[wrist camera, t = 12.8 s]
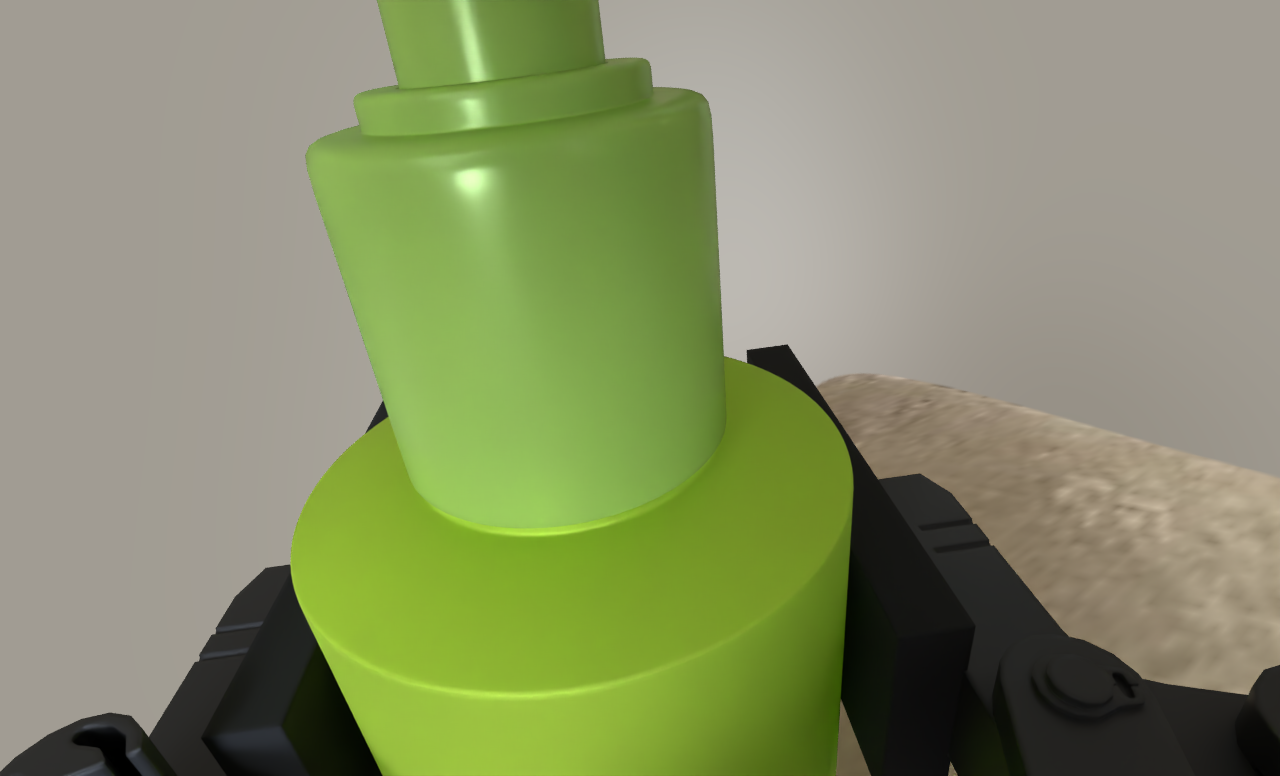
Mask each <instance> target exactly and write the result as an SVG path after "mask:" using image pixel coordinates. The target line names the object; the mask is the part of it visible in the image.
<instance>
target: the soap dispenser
mask: <svg viewBox="0 0 1280 776" xmlns="http://www.w3.org/2000/svg"><path fill="white" fill-rule="evenodd" d="M377 3H378V6H379V10H380V14H381V18H382V22H383V26H384V30H385V34H386V38H387V42H388V46H389V49H390V54H391V58H392V61H393V65H394V69H395V73H396V77H397V81H398V85H394V86H388V87H383V88H377V89H373V90H368V91H365V92H362V93H359V94H357V95H356V96H355V97H354V107H355V111H356V115H357V118H358V121H359V125H358V126H354V127H351V128H347V129H344V130H341V131H338V132H335V133H332V134H329V135H327V136H324V137H322V138H320V139H318V140H317V141H316V142H314V143H313V144H311V145H310V146H309V148H308V150H307V153H306V164H307V171H308V174H309V177H310V180H311V184H312V187H313V191H314V194H315V197H316V200H317V203H318V206H319V209H320V212H321V215H322V218H323V221H324V224H325V227H326V230H327V233H328V236H329V239H330V242H331V245H332V248H333V251H334V254H335V257H336V260H337V263H338V266H339V269H340V272H341V275H342V278H343V281H344V284H345V287H346V290H347V293H348V296H349V299H350V302H351V305H352V308H353V311H354V314H355V317H356V320H357V323H358V326H359V329H360V332H361V335H362V338H363V341H364V344H365V347H366V350H367V353H368V356H369V359H370V362H371V365H372V368H373V371H374V374H375V377H376V380H377V383H378V386H379V389H380V391H381V394H382V398H383V401H384V404H385V407H386V410H387V413H388V416H389V417H387V418H386V419H385V420H383V421H382V422H380V423H379V424H377V425H376V426H375V427H373V428H372V429H371V430H369V431H368V432H367V433H366V434H364V435H363V436H362V437H361V438H359V439H358V440H357V441H356V442H355V443H354V444H353V445H351V446H350V447H349V448H348V449H347V450H346V451H345V452H344V453H343V454H342V455H341V456H340V457H339V458H338V459H337V460H336V461H335V462H334V463H333V465H332V466H331V467H330V468H329V469H328V471H327V472H326V473H325V474H324V475H323V477H322V478H321V479H320V481H319V482H318V483H317V485H316V486H315V488H314V490H313V491H312V493H311V494H310V496H309V498H308V500H307V502H306V504H305V505H304V507H303V510H302V512H301V515H300V517H299V519H298V522H297V525H296V529H295V532H294V536H293V541H292V547H291V575H292V582H293V586H294V590H295V593H296V596H297V599H298V602H299V604H300V606H301V609H302V611H303V613H304V615H305V617H306V619H307V621H308V623H309V625H310V627H311V630H312V632H313V634H314V636H315V638H316V640H317V642H318V644H319V646H320V648H321V650H322V652H323V654H324V656H325V658H326V660H327V662H328V664H329V667H330V669H331V671H332V673H333V675H334V677H335V679H336V681H337V683H338V685H339V687H340V689H341V691H342V693H343V695H344V697H345V699H346V701H347V704H348V706H349V708H350V710H351V712H352V714H353V716H354V718H355V720H356V722H357V724H358V726H359V728H360V730H361V732H362V734H363V736H364V738H365V741H366V743H367V745H368V747H369V749H370V751H371V753H372V755H373V757H374V759H375V761H376V763H377V765H378V767H379V769H380V771H381V773H382V775H383V776H836V765H837V749H838V732H839V716H840V700H841V684H842V668H843V652H844V636H845V620H846V604H847V588H848V572H849V556H850V540H851V524H852V508H853V488H854V486H853V471H852V465H851V460H850V456H849V453H848V450H847V447H846V445H845V442H844V440H843V438H842V436H841V434H840V432H839V431H838V429H837V427H836V426H835V424H834V423H833V421H832V420H831V419H830V417H829V416H828V415H827V414H826V413H825V412H824V410H823V409H822V408H821V407H820V406H819V405H818V404H817V403H816V402H815V401H813V400H812V399H811V398H810V397H809V396H808V395H806V394H805V393H804V392H802V391H801V390H800V389H798V388H797V387H795V386H794V385H792V384H791V383H789V382H787V381H786V380H784V379H782V378H780V377H778V376H776V375H774V374H772V373H770V372H768V371H766V370H763V369H761V368H759V367H756V366H754V365H751V364H748V363H745V362H742V361H739V360H736V359H732V358H729V357H725V356H724V351H723V331H722V311H721V290H720V269H719V249H718V230H717V229H718V228H717V208H716V186H715V166H714V145H713V131H712V118H711V112H710V108H709V103H708V101H707V100H706V98H705V97H704V96H703V95H702V94H700V93H697V92H695V91H692V90H688V89H681V88H680V89H679V88H666V87H653V85H652V74H651V66H650V64H649V62H648V61H647V60H646V59H643V58H618V59H617V58H616V59H605V54H604V46H603V37H602V28H601V20H600V12H599V3H598V0H377Z"/></svg>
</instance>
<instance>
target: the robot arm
mask: <svg viewBox="0 0 1280 776" xmlns="http://www.w3.org/2000/svg"><path fill="white" fill-rule="evenodd" d="M747 363H748V364H751V365H754V366H756V367H759V368H761V369H763V370H766V371H768V372H770V373H772V374H774V375H776V376H778V377H780V378H782V379H784V380H786V381H787V382H789V383H791V384H792V385H794V386H795V387H797V388H798V389H800V390H801V391H802V392H804V393H805V394H806V395H808V396H809V397H810V398H811V399H812V400H813V401H815V402H816V403H817V404H818V405H819V406H820V407H821V408H822V409H823V410H824V412H825V413H826V414H827V415H828V416H829V417H830V419H831V420H832V421H833V423H834V424H835V426H836V427H837V429H838V431H839V432H840V434H841V436H842V438H843V440H844V442H845V445H846V447H847V450H848V453H849V456H850V460H851V465H852V471H853V486H854V488H853V508H852V524H851V540H850V556H849V572H848V588H847V604H846V620H845V636H844V652H843V668H842V684H841V700H842V703H843V705H844V708H845V710H846V713H847V715H848V718H849V720H850V723H851V726H852V728H853V731H854V733H855V736H856V738H857V741H858V743H859V746H860V748H861V751H862V754H863V756H864V759H865V761H866V764H867V766H868V769H869V771H870V774H871V776H948V772H949V766H950V761H951V763H952V765H953V767H954V769H955V771H956V773H957V775H958V776H1280V665H1278V666H1275V667H1272V668H1268V669H1265V670H1264V671H1263V672H1262V673H1261V675H1260V676H1259V678H1258V679H1257V681H1256V682H1255V683H1254V685H1253V687H1252V689H1251V691H1250V693H1249V695H1243V694H1235V693H1228V692H1221V691H1213V690H1206V689H1198V688H1191V687H1184V686H1176V685H1169V684H1164V683H1159V682H1155V681H1150V680H1145V679H1142V678H1141V677H1140V675H1139V674H1138V673H1137V672H1135V671H1134V670H1133V669H1132V668H1130V667H1129V666H1128V665H1126V664H1125V663H1124V662H1123V661H1121V660H1120V659H1119V658H1118V657H1116V656H1115V655H1114V654H1112V653H1110V652H1108V651H1106V650H1104V649H1101V648H1099V647H1097V646H1095V645H1093V644H1091V643H1089V642H1087V641H1085V640H1081V639H1076V638H1072V637H1069V636H1068V635H1067V634H1066V633H1065V632H1064V631H1063V630H1062V629H1061V628H1060V627H1059V625H1058V624H1057V623H1056V622H1055V621H1054V619H1053V618H1052V617H1051V616H1050V614H1049V613H1048V612H1047V611H1046V609H1045V608H1044V607H1043V606H1042V604H1041V603H1040V602H1039V601H1038V600H1037V598H1036V597H1035V596H1034V595H1033V593H1032V592H1031V591H1030V590H1029V588H1028V587H1027V586H1026V585H1025V583H1024V582H1023V581H1022V580H1021V579H1020V577H1019V576H1018V575H1017V574H1016V572H1015V571H1014V570H1013V569H1012V567H1011V566H1010V565H1009V564H1008V563H1007V561H1006V560H1005V559H1004V558H1003V556H1002V555H1001V554H1000V553H999V551H998V550H997V549H996V548H995V546H994V545H993V546H991V545H990V543H989V539H988V538H987V537H986V535H985V534H984V533H983V532H982V530H981V529H980V528H979V527H978V526H977V524H973V523H972V518H971V517H970V516H969V514H968V513H967V512H966V511H965V509H964V508H963V507H962V506H961V505H960V503H959V502H958V501H957V500H956V498H955V497H954V496H953V495H952V493H950V492H949V491H947V490H945V489H944V488H942V487H941V486H939V485H937V484H936V483H934V482H933V481H931V480H929V479H928V478H926V477H925V476H923V475H921V474H914V475H907V476H899V477H892V478H885V479H877V477H876V476H875V474H874V473H873V471H872V470H871V468H870V467H869V465H868V464H867V462H866V461H865V459H864V458H863V456H862V455H861V454H860V452H859V451H858V449H857V448H856V446H855V445H854V443H853V442H852V440H851V439H850V437H849V436H848V434H847V433H846V431H845V430H844V428H843V427H842V425H841V424H840V422H839V421H838V419H837V418H836V416H835V415H834V413H833V412H832V410H831V409H830V407H829V406H828V404H827V403H826V401H825V400H824V398H823V397H822V395H821V394H820V392H819V391H818V389H817V388H816V386H815V385H814V384H813V382H812V380H811V379H810V378H809V376H808V375H807V373H806V371H805V370H804V368H802V365H801V364H800V362H799V361H798V360H797V358H796V357H795V355H794V354H793V352H792V351H791V349H790V348H789V346H788V345H781V346H774V347H766V348H759V349H751V350H747ZM387 417H389V416H388V413H387V410H386V407H385V404H384V401H383V402H382V404H381V405H380V407H379V409H378V411H377V413H376V415H375V416H374V418H373V420H372V422H371V424H370V426H369V428H368V429H367V431H366V433H367V432H368V431H369V430H371V429H372V428H373V427H375V426H376V425H377V424H379V423H380V422H382V421H383V420H385V419H386V418H387ZM366 433H365V434H366ZM199 656H200V660H199V662H195V663H194V665H193V666H192V668H191V670H190V671H189V673H188V674H187V676H186V678H185V679H184V681H183V682H182V684H181V686H180V687H179V689H178V691H177V692H176V694H175V695H174V697H173V699H172V701H171V702H170V704H169V705H168V707H167V708H166V710H165V712H164V714H163V715H162V717H161V718H160V720H159V721H158V723H157V725H156V726H155V728H154V730H153V731H152V733H151V734H150V736H149V737H148V736H147V734H146V733H145V732H144V730H143V729H142V728H141V727H140V726H139V724H138V723H137V722H136V721H135V720H134V719H133V718H132V716H129V715H122V714H115V713H106V714H102V715H97V716H93V717H89V718H85V719H81V720H78V721H76V722H74V723H72V724H70V725H68V726H66V727H63V728H61V729H59V730H57V731H55V732H53V733H51V734H49V735H47V736H46V737H44V738H43V739H41V740H40V741H38V742H37V743H36V744H34V745H33V746H31V747H30V748H28V749H27V750H25V751H24V752H23V753H21V754H20V755H18V756H17V757H15V758H14V759H13V760H12V761H11V762H10V763H9V764H8V765H7V766H6V767H5V768H4V769H3V770H2V771H1V772H0V776H383V775H382V773H381V771H380V769H379V767H378V765H377V763H376V761H375V759H374V757H373V755H372V753H371V751H370V749H369V747H368V745H367V743H366V741H365V738H364V736H363V734H362V732H361V730H360V728H359V726H358V724H357V722H356V720H355V718H354V716H353V714H352V712H351V710H350V708H349V706H348V704H347V701H346V699H345V697H344V695H343V693H342V691H341V689H340V687H339V685H338V683H337V681H336V679H335V677H334V675H333V673H332V671H331V669H330V667H329V664H328V662H327V660H326V658H325V656H324V654H323V652H322V650H321V648H320V646H319V644H318V642H317V640H316V638H315V636H314V634H313V632H312V630H311V627H310V625H309V623H308V621H307V619H306V617H305V615H304V613H303V611H302V609H301V606H300V604H299V602H298V599H297V596H296V593H295V590H294V586H293V582H292V575H291V565H284V566H277V567H270V568H265V569H264V570H263V571H262V572H261V573H260V574H259V575H258V576H257V577H256V578H255V579H254V580H253V581H252V582H251V583H249V585H247V586H246V587H245V588H244V589H243V590H242V591H241V592H240V593H239V594H238V595H237V596H236V597H235V598H234V599H233V601H232V603H231V605H230V606H229V608H228V609H227V611H226V612H225V614H224V616H223V617H222V619H221V621H220V622H219V624H218V626H217V627H216V634H214V635H211V637H210V639H209V640H208V642H207V643H206V645H205V647H204V648H203V650H202V652H201V653H200V655H199Z"/></svg>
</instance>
